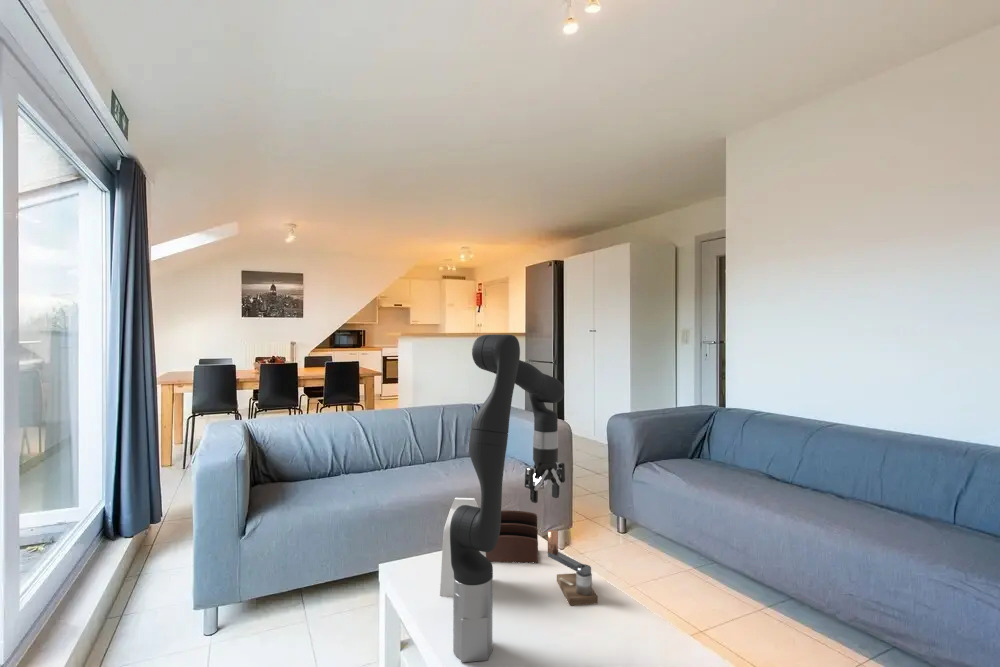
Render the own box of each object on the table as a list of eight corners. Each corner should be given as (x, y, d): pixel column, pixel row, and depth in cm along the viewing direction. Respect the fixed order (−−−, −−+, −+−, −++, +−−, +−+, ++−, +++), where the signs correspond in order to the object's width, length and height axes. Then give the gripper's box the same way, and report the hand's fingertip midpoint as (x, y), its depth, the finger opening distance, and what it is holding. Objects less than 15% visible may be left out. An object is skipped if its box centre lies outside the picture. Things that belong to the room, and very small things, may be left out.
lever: (594, 573, 142) (594, 546, 142) (584, 577, 139) (584, 550, 139) (554, 552, 155) (554, 528, 155) (544, 556, 153) (544, 531, 153)
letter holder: (480, 549, 175) (480, 509, 175) (537, 551, 174) (537, 510, 174) (477, 562, 165) (477, 519, 165) (538, 564, 164) (538, 520, 164)
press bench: (597, 603, 139) (597, 578, 139) (568, 605, 138) (569, 580, 138) (582, 579, 153) (582, 556, 153) (556, 581, 152) (556, 557, 152)
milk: (486, 578, 153) (487, 493, 154) (481, 598, 142) (482, 505, 142) (447, 576, 155) (448, 492, 155) (439, 596, 143) (440, 504, 143)
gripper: (536, 450, 144) (535, 507, 144) (571, 445, 153) (570, 498, 152) (519, 446, 150) (518, 501, 150) (554, 441, 159) (553, 492, 158)
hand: (545, 499), depth 151 cm, fingers open, 8 cm apart
